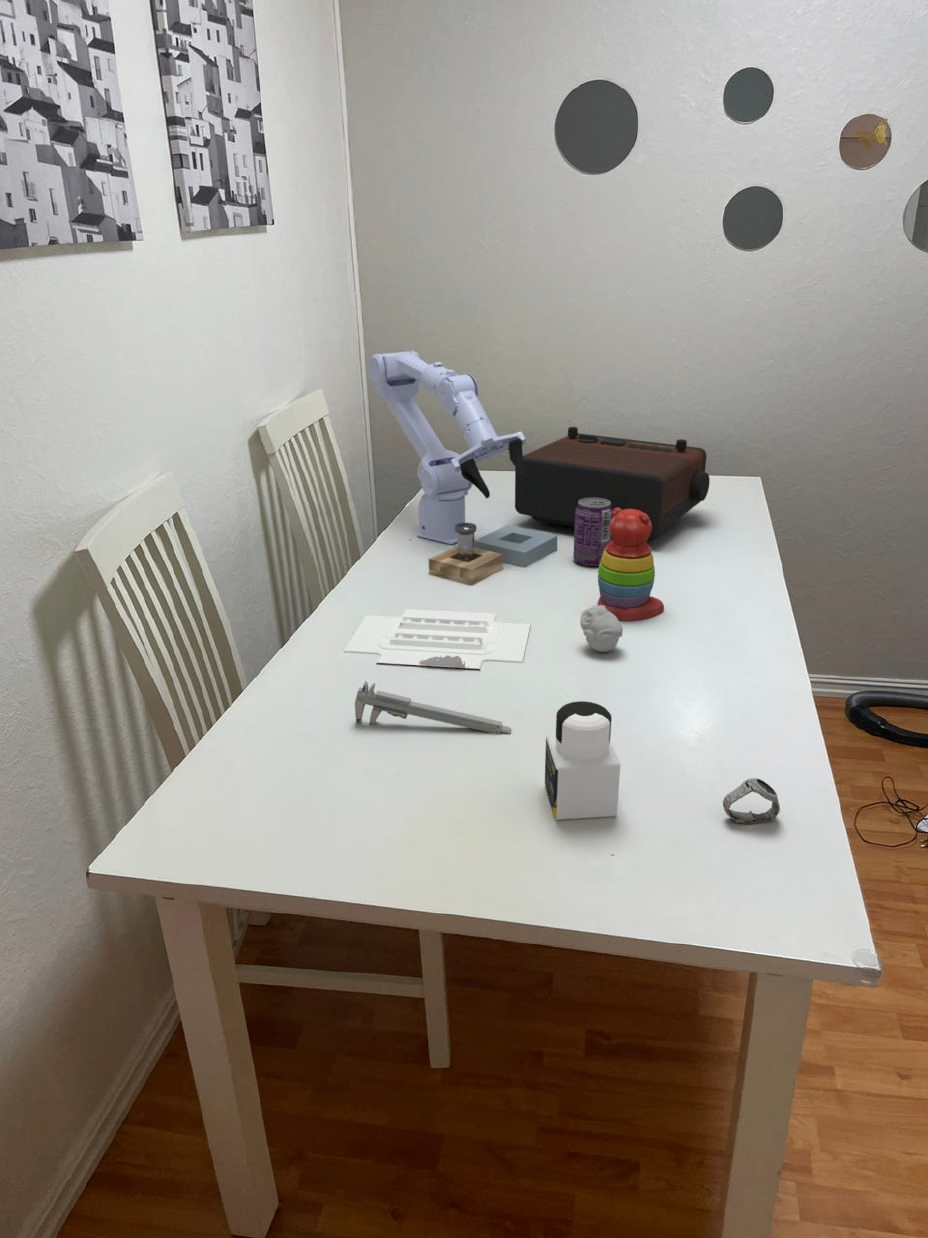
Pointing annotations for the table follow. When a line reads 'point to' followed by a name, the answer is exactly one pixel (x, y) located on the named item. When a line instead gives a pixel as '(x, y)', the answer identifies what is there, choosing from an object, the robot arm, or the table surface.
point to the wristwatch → (750, 817)
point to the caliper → (419, 711)
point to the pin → (465, 541)
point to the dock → (518, 544)
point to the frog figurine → (600, 628)
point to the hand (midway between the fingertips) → (506, 487)
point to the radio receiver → (612, 478)
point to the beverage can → (591, 530)
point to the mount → (466, 565)
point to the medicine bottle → (582, 763)
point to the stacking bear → (628, 568)
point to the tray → (440, 639)
